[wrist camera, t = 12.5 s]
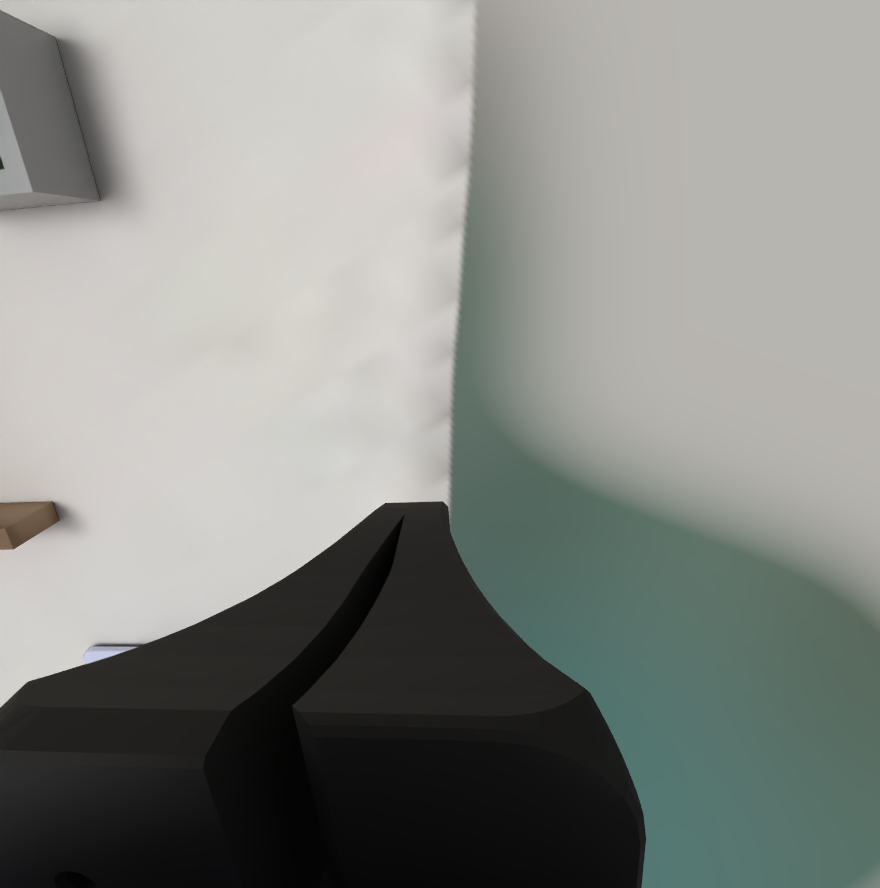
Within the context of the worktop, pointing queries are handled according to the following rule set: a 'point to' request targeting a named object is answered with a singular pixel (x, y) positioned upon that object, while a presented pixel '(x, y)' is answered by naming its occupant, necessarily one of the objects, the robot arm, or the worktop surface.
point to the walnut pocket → (24, 522)
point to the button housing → (38, 124)
